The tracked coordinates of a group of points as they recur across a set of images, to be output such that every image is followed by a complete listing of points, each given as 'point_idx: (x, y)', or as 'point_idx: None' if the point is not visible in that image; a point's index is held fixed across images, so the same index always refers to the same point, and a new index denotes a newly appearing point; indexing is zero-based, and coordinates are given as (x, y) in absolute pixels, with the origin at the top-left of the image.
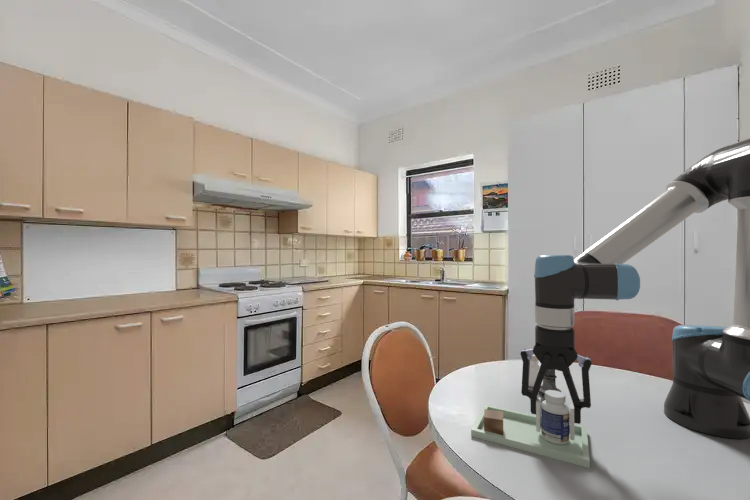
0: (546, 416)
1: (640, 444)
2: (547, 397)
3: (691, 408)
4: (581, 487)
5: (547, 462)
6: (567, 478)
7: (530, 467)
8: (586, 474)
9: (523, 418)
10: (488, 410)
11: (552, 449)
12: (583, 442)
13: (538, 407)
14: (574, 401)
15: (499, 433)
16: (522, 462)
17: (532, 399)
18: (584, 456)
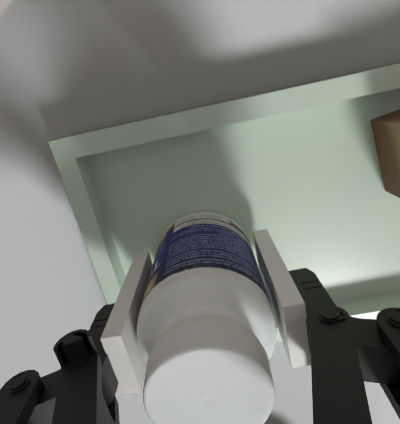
0: (232, 257)
1: None
2: (243, 341)
3: None
4: (52, 8)
5: (189, 89)
6: (105, 32)
7: (230, 3)
8: (66, 109)
9: None
10: None
11: (177, 124)
12: (105, 256)
13: (282, 286)
14: (85, 379)
15: (396, 116)
16: (264, 17)
17: (329, 307)
18: (70, 158)
